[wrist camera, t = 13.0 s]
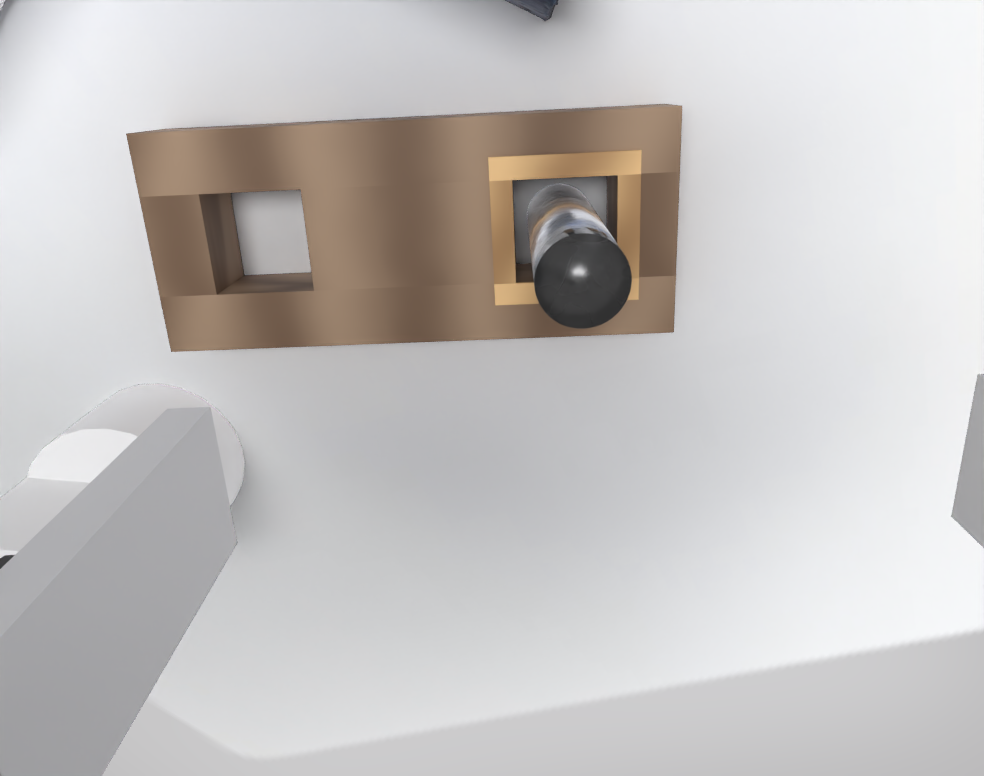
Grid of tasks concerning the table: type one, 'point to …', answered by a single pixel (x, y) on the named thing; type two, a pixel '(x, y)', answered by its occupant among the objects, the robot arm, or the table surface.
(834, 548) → the table surface
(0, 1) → the cable organizer
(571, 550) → the table surface
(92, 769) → the robot arm
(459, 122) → the mount block
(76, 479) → the cylinder with rectangular tab
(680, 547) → the table surface
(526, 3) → the vhs cassette tape
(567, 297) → the lock pin
